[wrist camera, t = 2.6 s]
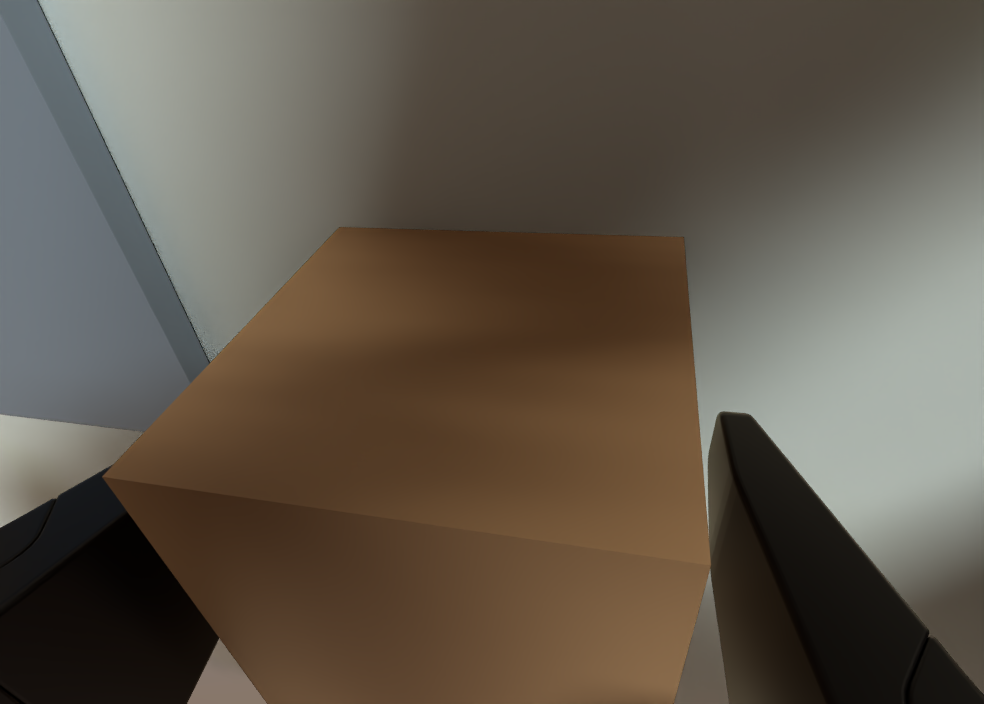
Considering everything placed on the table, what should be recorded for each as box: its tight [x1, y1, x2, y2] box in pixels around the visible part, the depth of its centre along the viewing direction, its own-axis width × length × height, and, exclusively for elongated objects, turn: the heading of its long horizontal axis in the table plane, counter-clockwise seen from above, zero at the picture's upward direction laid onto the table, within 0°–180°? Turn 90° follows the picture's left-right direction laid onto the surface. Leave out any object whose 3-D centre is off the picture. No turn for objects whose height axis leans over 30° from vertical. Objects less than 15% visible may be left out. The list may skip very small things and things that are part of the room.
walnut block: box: [102, 227, 711, 704], centre depth 8 cm, size 5×5×5 cm
